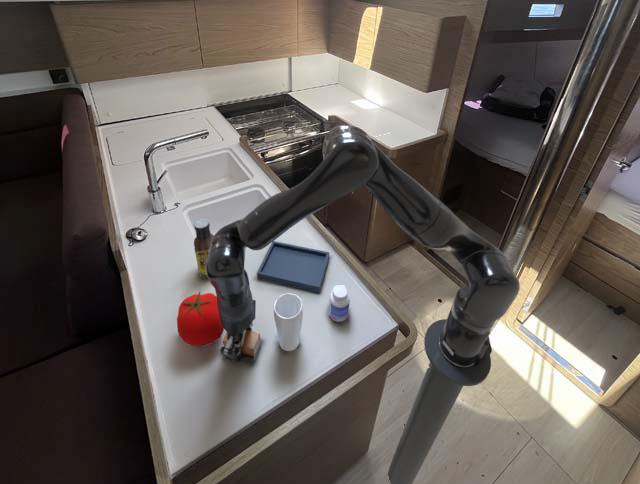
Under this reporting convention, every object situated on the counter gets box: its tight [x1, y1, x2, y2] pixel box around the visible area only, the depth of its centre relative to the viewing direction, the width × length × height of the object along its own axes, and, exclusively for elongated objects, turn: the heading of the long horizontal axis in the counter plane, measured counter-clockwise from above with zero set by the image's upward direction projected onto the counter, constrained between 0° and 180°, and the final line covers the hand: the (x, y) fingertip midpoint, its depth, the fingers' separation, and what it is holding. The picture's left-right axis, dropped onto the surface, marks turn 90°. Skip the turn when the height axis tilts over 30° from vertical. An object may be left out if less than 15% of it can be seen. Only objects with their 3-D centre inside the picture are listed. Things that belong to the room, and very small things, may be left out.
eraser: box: [222, 330, 263, 363], centre depth 80 cm, size 8×5×5 cm, turn 76°
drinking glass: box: [273, 292, 304, 352], centre depth 79 cm, size 7×7×15 cm
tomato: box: [176, 291, 225, 347], centre depth 81 cm, size 12×12×13 cm
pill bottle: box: [328, 284, 351, 323], centre depth 87 cm, size 5×5×10 cm
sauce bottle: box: [193, 218, 215, 279], centre depth 96 cm, size 6×6×20 cm
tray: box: [256, 240, 330, 293], centre depth 102 cm, size 20×14×2 cm
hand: (243, 347), depth 81 cm, fingers open, 5 cm apart
